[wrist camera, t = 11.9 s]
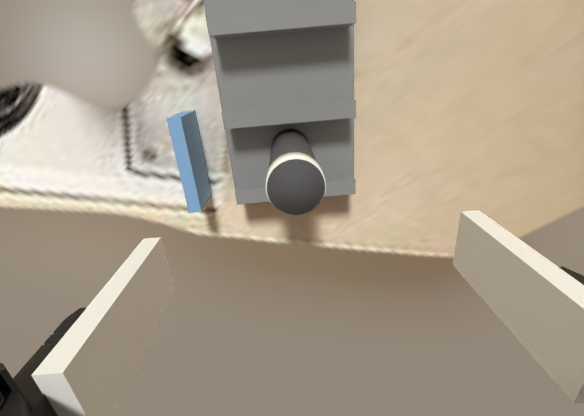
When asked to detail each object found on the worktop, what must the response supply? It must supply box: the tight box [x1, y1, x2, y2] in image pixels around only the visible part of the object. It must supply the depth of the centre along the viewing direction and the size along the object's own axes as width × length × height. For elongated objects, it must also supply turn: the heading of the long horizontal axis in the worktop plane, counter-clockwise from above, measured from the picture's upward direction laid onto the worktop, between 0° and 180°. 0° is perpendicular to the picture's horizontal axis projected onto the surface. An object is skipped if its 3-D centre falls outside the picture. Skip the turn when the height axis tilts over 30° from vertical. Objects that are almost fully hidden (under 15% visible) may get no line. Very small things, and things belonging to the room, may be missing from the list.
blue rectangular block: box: [167, 110, 211, 213], centre depth 31 cm, size 1×9×5 cm, turn 5°
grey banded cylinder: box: [265, 129, 326, 215], centre depth 27 cm, size 4×4×12 cm
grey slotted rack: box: [204, 0, 356, 204], centre depth 28 cm, size 13×25×4 cm, turn 5°
